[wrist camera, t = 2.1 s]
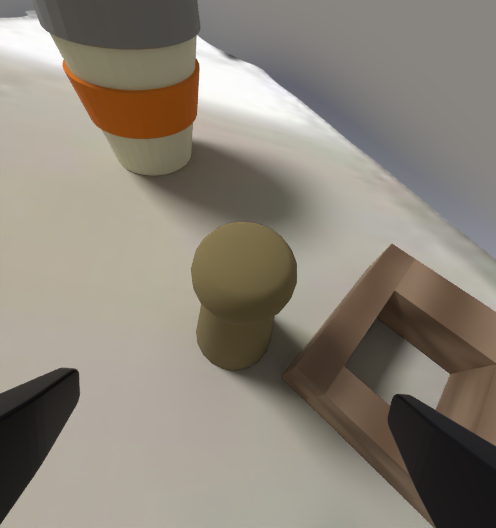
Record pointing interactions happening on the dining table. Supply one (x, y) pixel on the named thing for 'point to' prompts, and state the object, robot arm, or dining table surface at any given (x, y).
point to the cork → (241, 291)
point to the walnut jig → (418, 334)
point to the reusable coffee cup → (132, 73)
